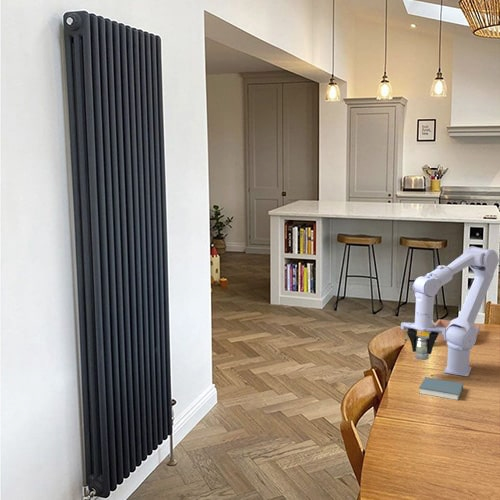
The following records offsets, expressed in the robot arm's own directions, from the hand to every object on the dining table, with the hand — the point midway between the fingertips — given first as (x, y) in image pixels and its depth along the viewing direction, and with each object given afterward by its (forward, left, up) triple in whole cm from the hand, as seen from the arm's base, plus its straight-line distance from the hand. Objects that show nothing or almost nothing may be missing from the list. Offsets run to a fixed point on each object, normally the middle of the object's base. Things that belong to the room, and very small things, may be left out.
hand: (422, 352), depth 209 cm
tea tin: (0, 0, -2) cm, 2 cm away
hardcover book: (+8, +8, -10) cm, 15 cm away
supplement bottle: (-38, -5, -10) cm, 39 cm away
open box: (-55, +3, -9) cm, 56 cm away
